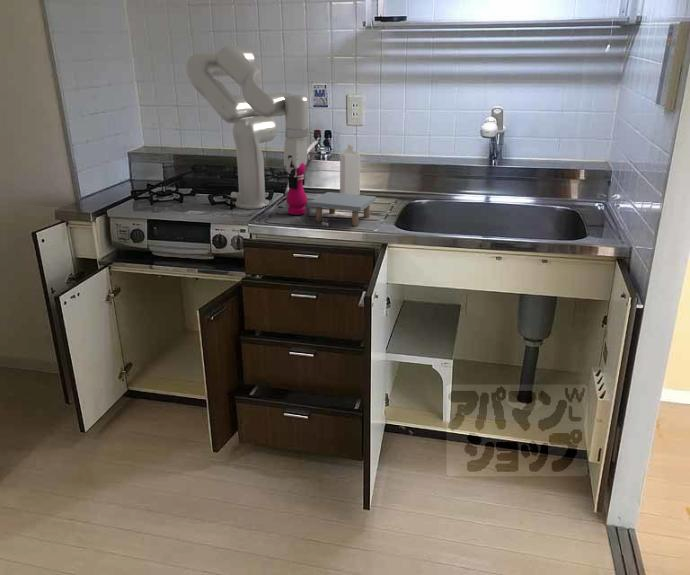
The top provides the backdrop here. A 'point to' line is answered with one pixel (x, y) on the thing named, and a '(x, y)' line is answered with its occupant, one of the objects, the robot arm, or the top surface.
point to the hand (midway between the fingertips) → (296, 186)
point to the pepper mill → (297, 194)
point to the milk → (349, 171)
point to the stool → (343, 204)
